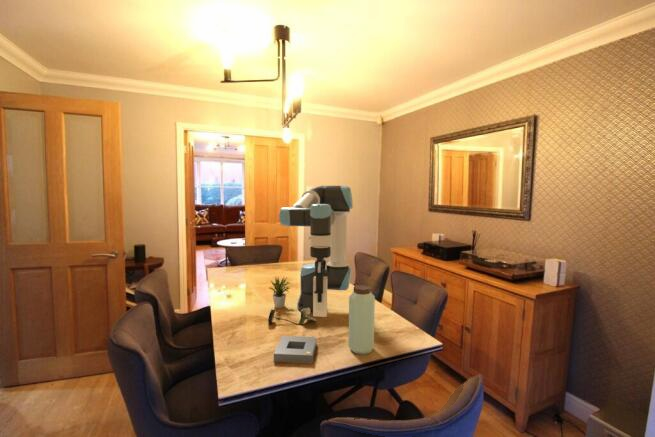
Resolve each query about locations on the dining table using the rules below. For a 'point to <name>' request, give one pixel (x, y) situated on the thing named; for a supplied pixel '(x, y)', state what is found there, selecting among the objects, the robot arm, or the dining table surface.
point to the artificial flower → (303, 317)
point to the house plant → (279, 292)
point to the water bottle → (361, 319)
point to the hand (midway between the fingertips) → (320, 307)
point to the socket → (295, 349)
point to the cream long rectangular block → (324, 312)
